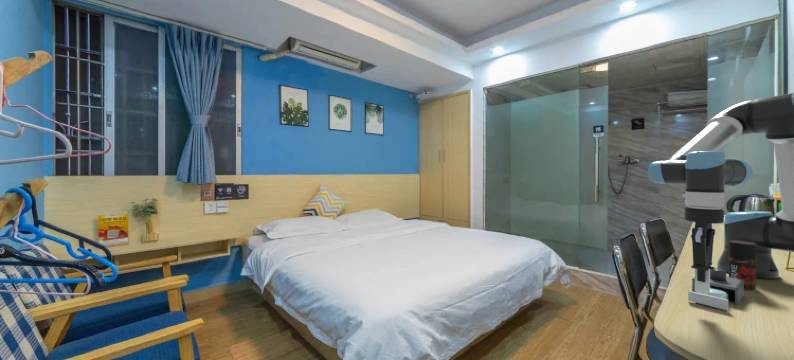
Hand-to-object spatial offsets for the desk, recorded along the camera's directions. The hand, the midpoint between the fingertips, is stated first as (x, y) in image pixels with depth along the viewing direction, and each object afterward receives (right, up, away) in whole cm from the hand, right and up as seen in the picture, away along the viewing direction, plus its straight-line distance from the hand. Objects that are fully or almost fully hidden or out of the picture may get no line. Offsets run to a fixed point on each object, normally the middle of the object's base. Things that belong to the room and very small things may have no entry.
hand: (702, 292), depth 82 cm
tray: (+10, -5, +7) cm, 13 cm away
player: (+17, -5, +12) cm, 21 cm away
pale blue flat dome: (+9, -4, +6) cm, 12 cm away
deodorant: (+31, -5, +17) cm, 36 cm away
